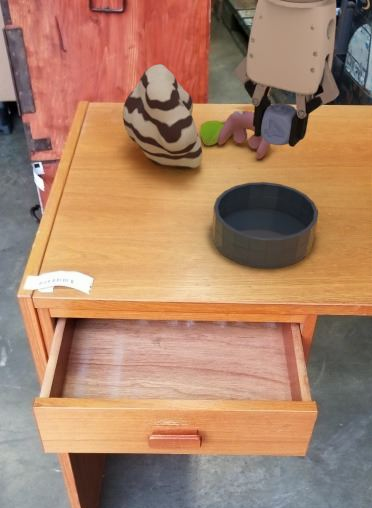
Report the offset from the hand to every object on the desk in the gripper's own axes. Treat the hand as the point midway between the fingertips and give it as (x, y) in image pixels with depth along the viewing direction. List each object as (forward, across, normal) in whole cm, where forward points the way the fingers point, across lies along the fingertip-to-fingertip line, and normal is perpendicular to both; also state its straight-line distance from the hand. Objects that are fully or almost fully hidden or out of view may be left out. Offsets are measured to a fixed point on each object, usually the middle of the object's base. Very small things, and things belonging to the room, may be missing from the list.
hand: (278, 136), depth 82 cm
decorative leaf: (+15, +21, -23) cm, 35 cm away
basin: (+15, -1, +3) cm, 15 cm away
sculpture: (+15, +26, -10) cm, 31 cm away
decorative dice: (+1, 0, 0) cm, 1 cm away
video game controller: (+15, +14, -21) cm, 30 cm away
